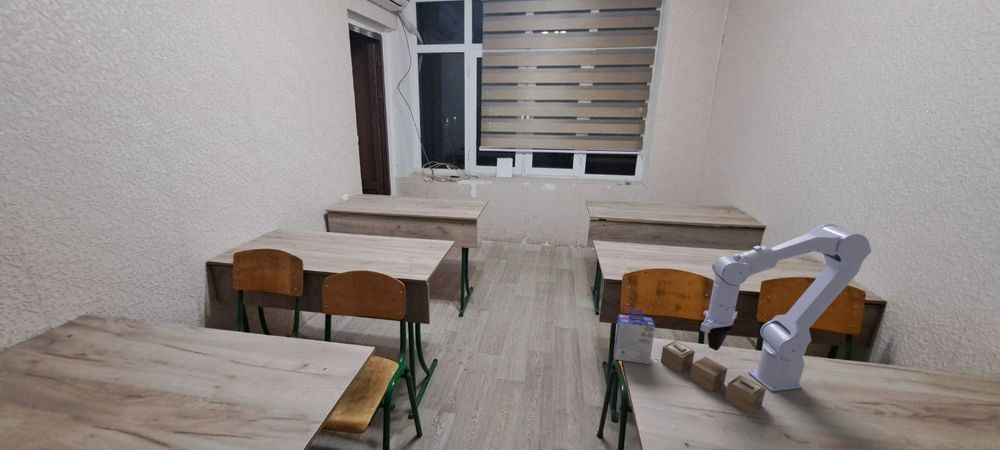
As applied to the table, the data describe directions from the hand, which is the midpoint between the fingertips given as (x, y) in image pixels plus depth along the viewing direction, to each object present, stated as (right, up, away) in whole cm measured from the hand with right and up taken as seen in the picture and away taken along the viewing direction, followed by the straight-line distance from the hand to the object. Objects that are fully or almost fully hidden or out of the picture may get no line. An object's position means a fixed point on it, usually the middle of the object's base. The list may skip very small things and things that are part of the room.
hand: (713, 348), depth 102 cm
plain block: (-2, -9, 0) cm, 9 cm away
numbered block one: (+3, -11, -8) cm, 14 cm away
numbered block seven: (-7, -7, +7) cm, 12 cm away
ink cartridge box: (-19, -6, +9) cm, 22 cm away
